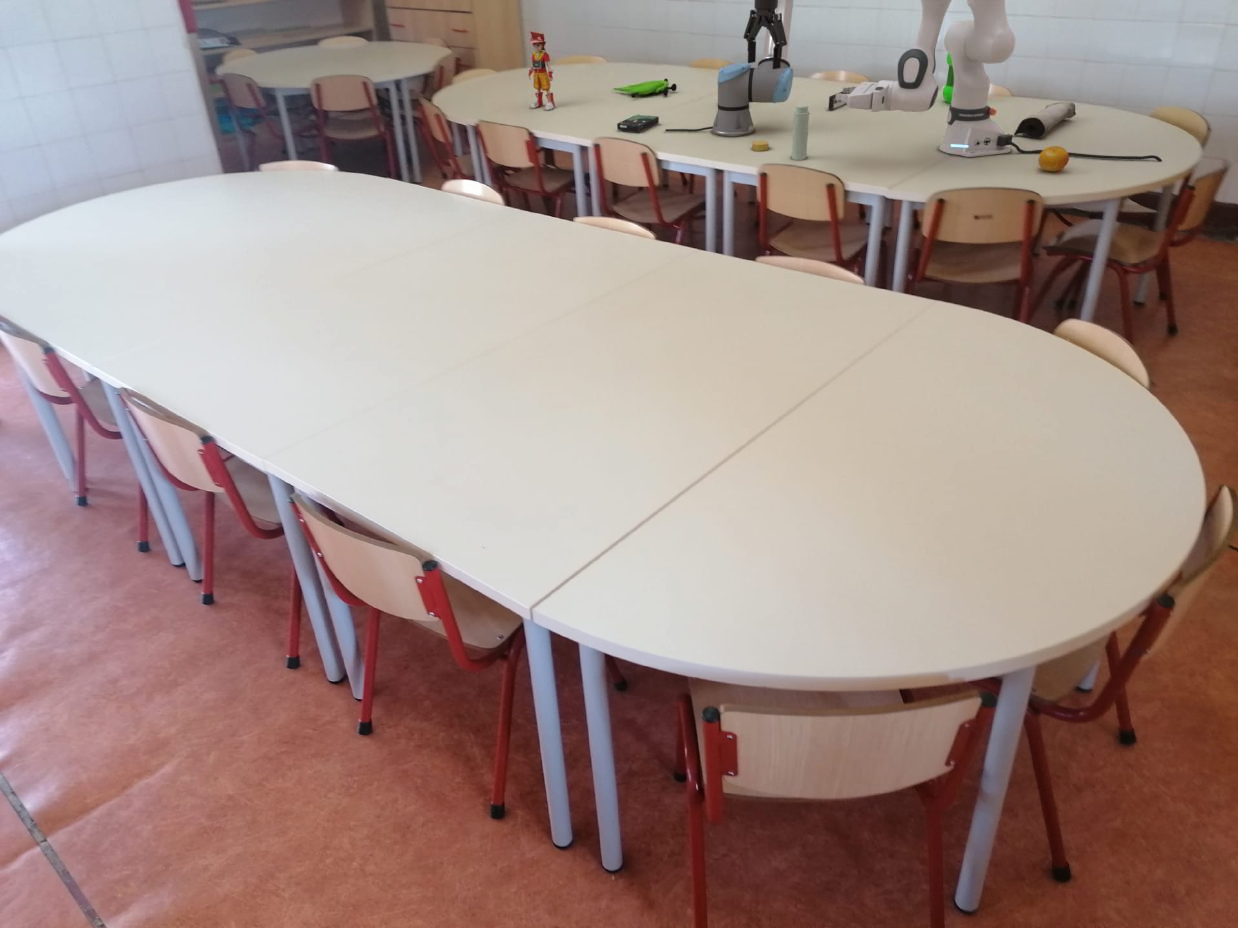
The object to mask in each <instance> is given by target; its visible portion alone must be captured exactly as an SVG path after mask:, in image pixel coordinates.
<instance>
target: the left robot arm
mask: <svg viewBox="0 0 1238 928" xmlns="http://www.w3.org/2000/svg"><path fill="white" fill-rule="evenodd" d="M753 6H754V7H753V8H754V9H750V10H749V16H748V17H749V18H748V20H747V24H746V27H745V31H744V33H743V39H744V40H746V42H747V62H736V63H732V64H728V65H725V66H722V67H721V68H720V69H719V70H718V75H717V111H716V114H715V118H714V120H713V124H712V126H706V127H702V128H666V129H664V130H665V132H701V131H706V130H711V129H712V133H713V134H715V135H717V136H721V137H741V136H746V135H750V134H752V133H754V127H755V126H754V122H753V118H752V115H751V111H750V103H762V104H763V103H766V104H767V103H768V104H769V103H770V104H777V103H778V104H779V103H785V102H787V101H788V99H789V97H790V94H791V92H792V87H793V80H794V68H792V67H791V63H790V61H788V52H789V43H790V42H789V41H790V35H791V25H792V15H793V8H794V0H754V5H753ZM762 28H766V29H765V36H764V37H765V38H764V46H763V55H762V58H761V59H760V60H759V61H758V63H757V67H752V65H751V64H753V63H756V58H757V57H756V56H757V55H756V54H757V41H756V39H757V36H758V34H759V32H760V31H761V29H762Z"/></svg>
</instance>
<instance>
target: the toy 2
mask: <svg viewBox="0 0 1238 928" xmlns="http://www.w3.org/2000/svg"><path fill="white" fill-rule="evenodd" d="M669 85H670V83H669V79H668V78H664V79H663V80H649V81H644V82H640V83H634V84H629V85H627V86H621V87H613V88H612V89H613V90H616V91H619V92H623V93H627V94H628V93H629V94H631V95H630V96H631V98H632V99H634V98H636V96H637V95H650V94H652V93H654V94H658V93H662V95H663V96H665V97H667V96H668V95H669V90H671V91H672V92H676V91H677V84H676V83H672V84H671V86H669Z"/></svg>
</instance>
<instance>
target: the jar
mask: <svg viewBox="0 0 1238 928" xmlns="http://www.w3.org/2000/svg"><path fill="white" fill-rule="evenodd" d="M793 113H794V114H793V128H792V129H793V130H792V131H793V132H792V146H791V147H792V149H791V159H792V160H794V161H802V160H806V159H807V154H808V153H807V152H808V138H809V120H810V111H809V105H807V104H797V105H796V106H795V110H794V112H793Z"/></svg>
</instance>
